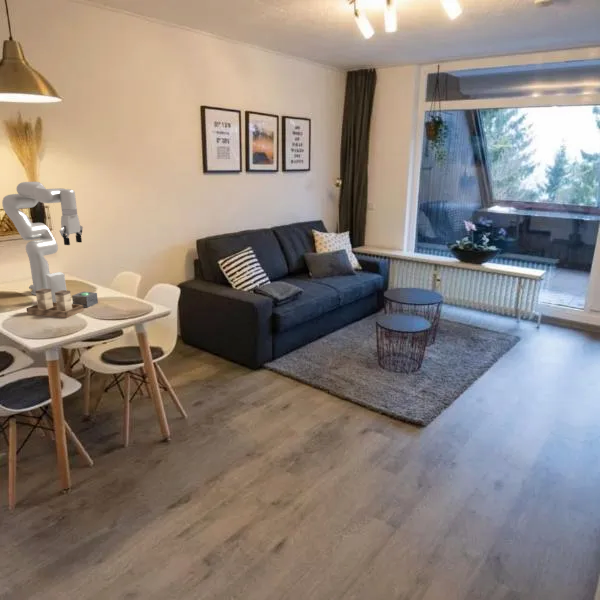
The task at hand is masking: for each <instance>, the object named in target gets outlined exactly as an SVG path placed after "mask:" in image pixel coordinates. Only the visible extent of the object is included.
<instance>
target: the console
mask: <svg viewBox="0 0 600 600" xmlns="http://www.w3.org/2000/svg"><path fill="white" fill-rule="evenodd" d="M81 293H88V294H89V295H86V296H82V295H81ZM71 301H72V304H77V305H83V308H86V309H87V308H91V307H93V306H95V305H97V304H99V302H98V301H99V300H98V292H90V291H81V292H77V293H75V294H73V295H71Z"/></svg>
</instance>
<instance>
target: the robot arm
mask: <svg viewBox="0 0 600 600" xmlns="http://www.w3.org/2000/svg"><path fill="white" fill-rule="evenodd" d="M16 192H17V193H13V194H7V195H5V196H4V197H3V198H2V201H1V203H2V209H3V211H4V212H5V214H6V215H7V217H8V218H9V219H10V221H12V223H13V225H14V227H15V229H16V230H17V232H18V233H19V236H20V237H21V238H22V239H23V240H24V241H28V242H27V243H26V245H25V252H26V254H27V257H28V262H29V266H30V267H29V268H30V272H31V279H32V284H30V286H28V288H29V289H30V290H31V289H32V290H31V292H30V293H31V295H33V296H36V290H39V289H42V288H44V289H48V285H47V279H46V274H51V273H50V266H49V261H48V260H47V259H46V258H45V256H48V255H53V254H56V253H57V252H58V249H59V247H58V246H59V245H58V243H57V241H56V239H55V238H54V236H53V233H52V232H51V230H50V229H49V227H48V226H47V225H46V224H45V223H43V222H32V221H31V219H30V217H29V216H28V215H27V214H26V213H24V212H23V211H22V210H21V209H30V208H34V207H35V206H36V205H37V204H38V203H44V204H57V203H60V206H61V207H60V208H61V218H60V226H61V227H60V230H59V233H60V235H61V237H62V238H63V244H64V246H70V245H71V243H70V235H72V234H75V242H76V243H82V240H83V239H82V233H83V228H84V227H83V225H81V223H80V218H79V216H78V207H77V200H76V192H75V190H74V189H69V188H67V189H66V188H46V186H44V185H43V183H41V182H40V181H23V182H20V183H18V184H17V186H16Z"/></svg>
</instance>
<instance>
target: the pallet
mask: <svg viewBox="0 0 600 600" xmlns="http://www.w3.org/2000/svg"><path fill="white" fill-rule="evenodd" d="M84 308H85V307H83V305H77V304H73V303H72V309H71V310H68V311H57V304H56V302H53V307H52V308H49V309H47V310H46V309H38V304H33V305H31V306H29V307H26V313H27V314H28V315H36V316H44V317H45V316H46V317H57V318H64V319H65V318H66V319H67V318H70V317H72V316H74V315H77V314H80V313H81V312H84V310H85V309H84Z"/></svg>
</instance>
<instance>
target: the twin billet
mask: <svg viewBox="0 0 600 600" xmlns="http://www.w3.org/2000/svg"><path fill="white" fill-rule="evenodd" d="M35 296H36V303H37V304H38V309H46V310H47V309H49V308H52V307H53V302H52V294H51V289H44V288H42V289H39V290H36V295H35ZM37 304H36V305H37Z"/></svg>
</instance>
